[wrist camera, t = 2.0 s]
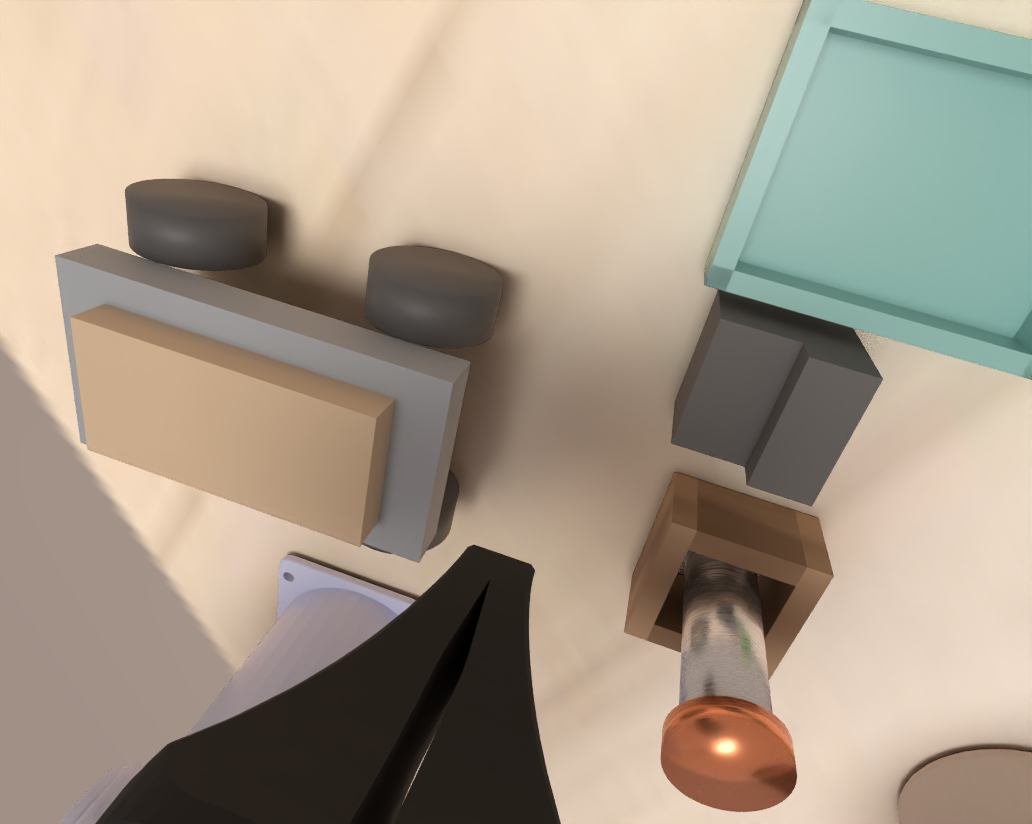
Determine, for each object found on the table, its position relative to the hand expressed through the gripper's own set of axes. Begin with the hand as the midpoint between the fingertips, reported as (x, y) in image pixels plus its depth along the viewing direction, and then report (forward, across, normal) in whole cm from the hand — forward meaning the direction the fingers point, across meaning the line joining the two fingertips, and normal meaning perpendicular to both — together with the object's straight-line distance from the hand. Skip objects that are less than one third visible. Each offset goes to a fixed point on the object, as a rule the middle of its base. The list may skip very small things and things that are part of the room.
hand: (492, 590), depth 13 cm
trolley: (+10, +9, +2) cm, 14 cm away
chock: (+11, -5, -2) cm, 12 cm away
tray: (+10, -7, -8) cm, 15 cm away
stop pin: (+10, -7, +5) cm, 13 cm away
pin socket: (+10, -7, +5) cm, 13 cm away
